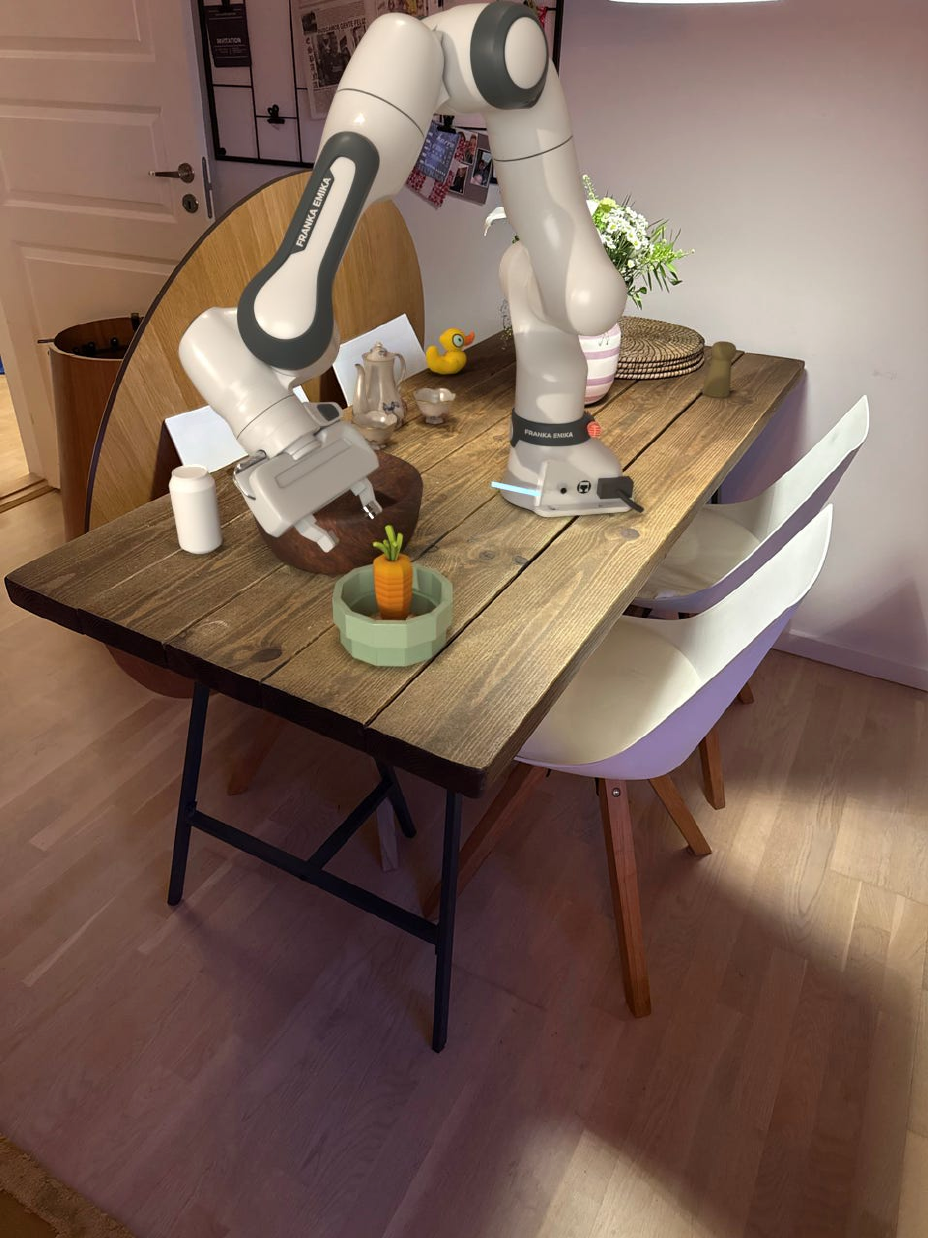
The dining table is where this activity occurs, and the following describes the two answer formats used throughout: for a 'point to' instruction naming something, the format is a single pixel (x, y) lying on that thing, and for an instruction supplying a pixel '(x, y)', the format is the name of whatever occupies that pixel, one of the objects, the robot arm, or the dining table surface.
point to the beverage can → (195, 509)
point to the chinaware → (390, 398)
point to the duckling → (449, 352)
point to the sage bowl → (393, 637)
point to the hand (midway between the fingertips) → (355, 531)
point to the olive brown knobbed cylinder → (719, 370)
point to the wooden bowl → (356, 522)
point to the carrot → (393, 578)
